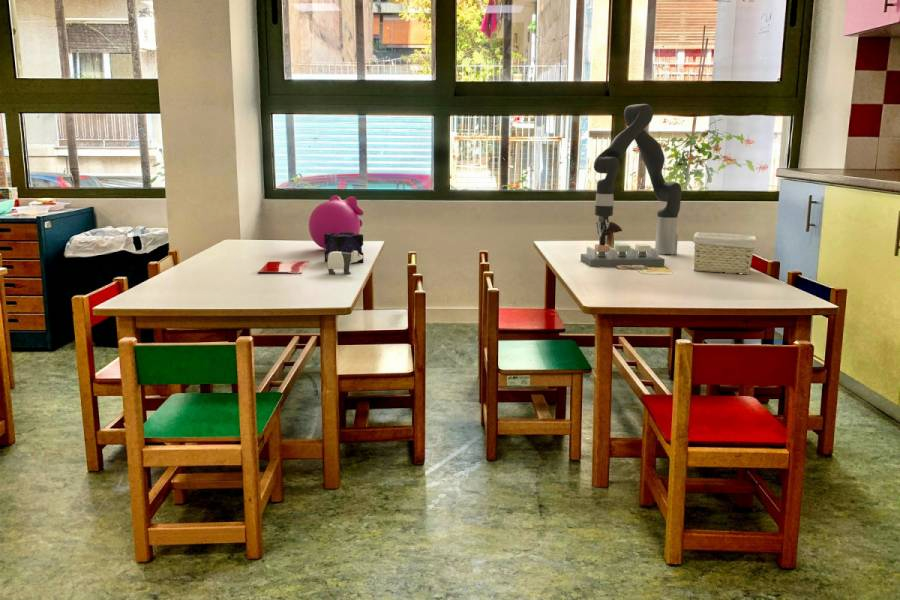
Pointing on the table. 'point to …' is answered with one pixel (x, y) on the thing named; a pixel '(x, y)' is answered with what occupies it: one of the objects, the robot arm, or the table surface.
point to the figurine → (334, 218)
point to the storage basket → (723, 252)
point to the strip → (631, 267)
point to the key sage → (622, 249)
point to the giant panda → (342, 261)
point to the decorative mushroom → (610, 237)
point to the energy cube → (343, 243)
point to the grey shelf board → (622, 258)
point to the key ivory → (642, 249)
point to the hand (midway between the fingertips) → (602, 245)
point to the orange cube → (602, 249)
